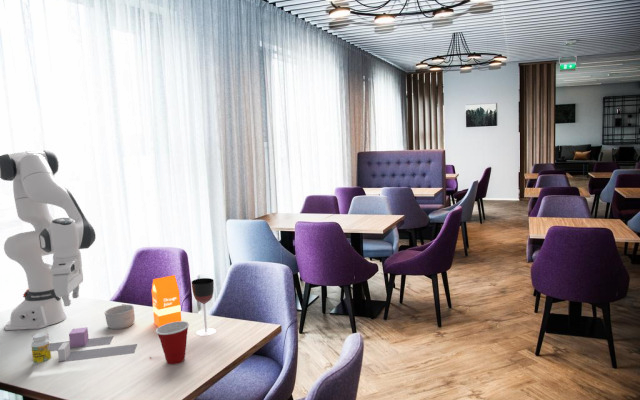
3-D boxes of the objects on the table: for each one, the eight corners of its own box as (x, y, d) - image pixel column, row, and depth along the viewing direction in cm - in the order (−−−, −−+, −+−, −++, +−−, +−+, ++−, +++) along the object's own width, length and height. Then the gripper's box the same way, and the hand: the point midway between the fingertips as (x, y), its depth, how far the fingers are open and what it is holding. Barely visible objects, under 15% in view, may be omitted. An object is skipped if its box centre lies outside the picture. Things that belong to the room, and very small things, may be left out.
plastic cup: (164, 354, 170) (161, 320, 169) (195, 353, 170) (193, 319, 168) (153, 368, 159) (150, 332, 158) (186, 367, 159) (183, 331, 157)
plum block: (70, 347, 176) (68, 333, 176) (74, 342, 181) (72, 328, 180) (85, 345, 177) (84, 332, 177) (88, 340, 182) (87, 327, 182)
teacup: (128, 332, 191) (127, 313, 190) (101, 333, 192) (99, 313, 191) (142, 320, 205) (140, 301, 204) (116, 320, 205) (115, 302, 204)
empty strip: (58, 365, 164) (56, 350, 163) (65, 355, 172) (63, 341, 171) (134, 355, 169) (133, 341, 169) (137, 346, 177) (136, 333, 176)
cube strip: (37, 355, 173) (35, 341, 172) (44, 346, 180) (43, 333, 180) (109, 346, 178) (108, 333, 177) (114, 338, 185) (112, 325, 185)
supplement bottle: (53, 358, 171) (50, 331, 169) (48, 364, 165) (45, 337, 164) (36, 360, 169) (33, 333, 168) (31, 366, 164) (27, 339, 163)
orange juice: (182, 325, 196) (178, 276, 194) (159, 331, 192) (155, 281, 189) (175, 320, 203) (172, 273, 201) (154, 325, 198) (150, 277, 196)
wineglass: (202, 337, 183) (198, 285, 181) (191, 331, 189) (187, 281, 187) (221, 331, 188) (217, 281, 186) (209, 326, 195) (206, 276, 192)
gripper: (67, 258, 185) (71, 294, 186) (48, 271, 165) (52, 311, 166) (85, 256, 186) (89, 292, 187) (68, 269, 166) (72, 309, 167)
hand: (71, 301), depth 177 cm, fingers open, 8 cm apart
